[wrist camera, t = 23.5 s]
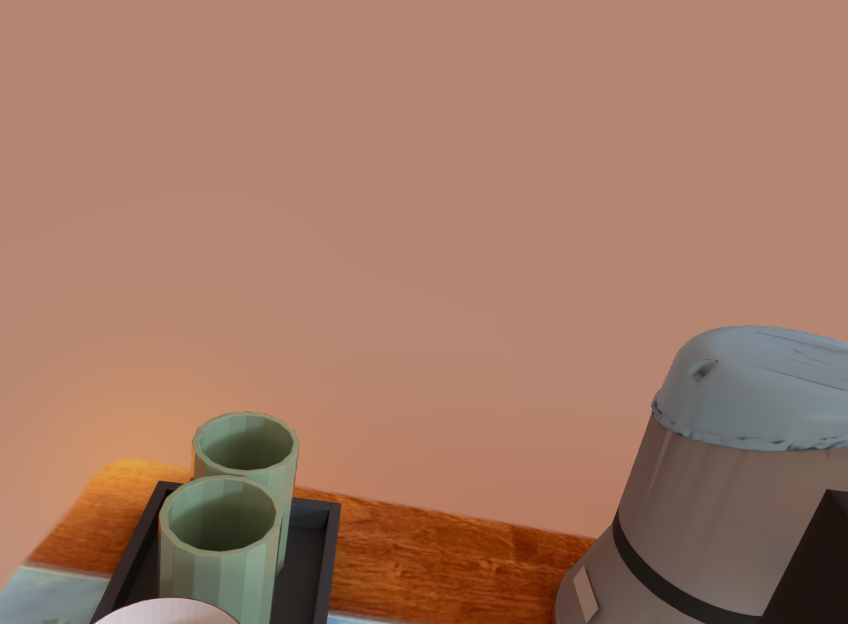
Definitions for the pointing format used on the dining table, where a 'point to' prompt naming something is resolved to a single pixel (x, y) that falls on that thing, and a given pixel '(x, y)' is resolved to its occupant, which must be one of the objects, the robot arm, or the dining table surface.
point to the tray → (295, 583)
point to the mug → (168, 613)
